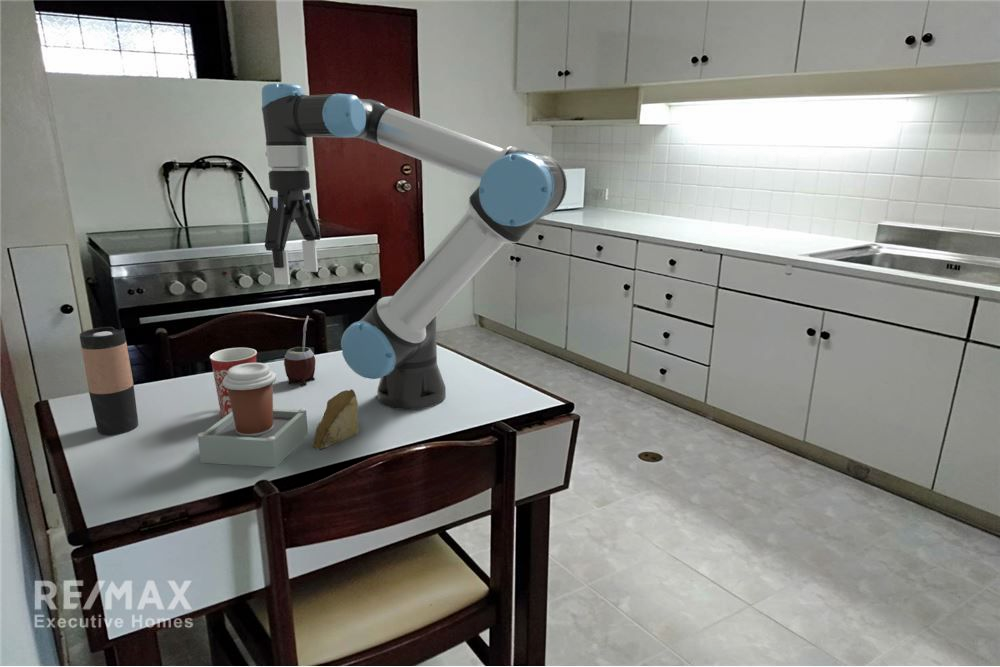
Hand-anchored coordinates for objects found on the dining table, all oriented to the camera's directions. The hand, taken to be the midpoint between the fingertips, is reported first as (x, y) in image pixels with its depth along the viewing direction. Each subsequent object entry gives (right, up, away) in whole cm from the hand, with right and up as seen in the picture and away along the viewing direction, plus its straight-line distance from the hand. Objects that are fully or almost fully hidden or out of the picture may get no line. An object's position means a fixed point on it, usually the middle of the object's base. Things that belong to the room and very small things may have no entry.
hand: (297, 277), depth 133 cm
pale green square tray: (-5, -33, -10) cm, 34 cm away
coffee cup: (-4, -29, -11) cm, 32 cm away
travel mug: (-36, -30, -1) cm, 47 cm away
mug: (-14, -28, +7) cm, 32 cm away
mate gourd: (-7, -23, +25) cm, 35 cm away
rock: (+9, -32, -6) cm, 34 cm away
